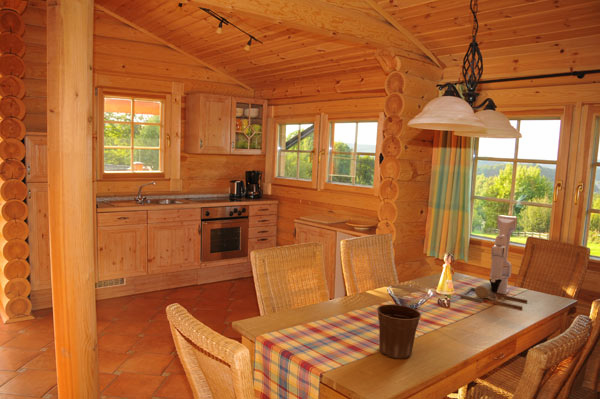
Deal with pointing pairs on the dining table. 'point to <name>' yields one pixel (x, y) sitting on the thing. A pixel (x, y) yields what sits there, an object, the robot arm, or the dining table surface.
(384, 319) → the plant pot
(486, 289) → the speckled coffee cup
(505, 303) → the walnut dock
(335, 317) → the dining table surface
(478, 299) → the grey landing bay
